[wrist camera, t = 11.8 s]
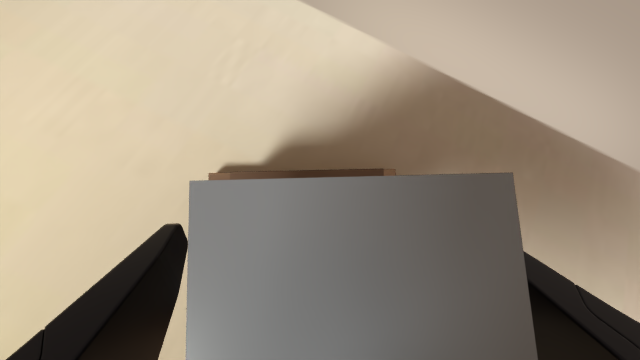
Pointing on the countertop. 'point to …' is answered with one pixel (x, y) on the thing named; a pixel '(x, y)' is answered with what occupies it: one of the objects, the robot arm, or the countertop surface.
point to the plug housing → (357, 269)
